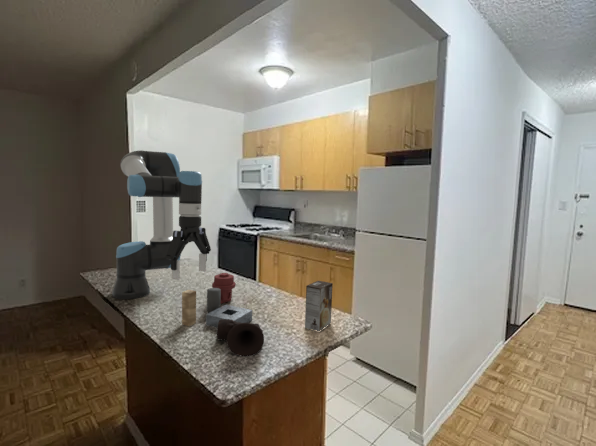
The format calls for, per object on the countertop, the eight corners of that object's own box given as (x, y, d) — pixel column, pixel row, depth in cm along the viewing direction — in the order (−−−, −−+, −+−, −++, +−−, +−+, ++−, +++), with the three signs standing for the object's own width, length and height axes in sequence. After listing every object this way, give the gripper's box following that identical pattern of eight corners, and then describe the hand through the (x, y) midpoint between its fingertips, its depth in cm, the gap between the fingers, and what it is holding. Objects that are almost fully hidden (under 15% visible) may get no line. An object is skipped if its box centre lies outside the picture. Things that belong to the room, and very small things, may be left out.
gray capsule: (204, 312, 133) (204, 290, 132) (212, 308, 138) (212, 287, 137) (214, 315, 131) (215, 292, 130) (222, 310, 135) (223, 289, 135)
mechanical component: (238, 299, 151) (229, 306, 141) (217, 296, 153) (207, 303, 143) (239, 272, 149) (230, 277, 140) (218, 270, 151) (208, 275, 142)
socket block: (205, 325, 121) (206, 314, 120) (225, 314, 132) (226, 304, 131) (233, 332, 116) (233, 320, 116) (252, 320, 127) (252, 310, 127)
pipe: (220, 312, 114) (214, 321, 99) (265, 314, 116) (265, 324, 101) (218, 341, 113) (211, 355, 98) (262, 343, 115) (262, 357, 100)
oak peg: (181, 324, 121) (182, 292, 119) (188, 321, 124) (188, 289, 122) (189, 326, 119) (189, 293, 118) (195, 323, 122) (196, 291, 121)
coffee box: (316, 320, 129) (318, 279, 128) (331, 324, 126) (333, 282, 124) (304, 328, 121) (305, 285, 120) (319, 333, 118) (321, 288, 116)
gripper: (171, 218, 105) (171, 284, 107) (220, 214, 127) (219, 269, 129) (153, 216, 108) (154, 281, 110) (205, 213, 130) (204, 266, 132)
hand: (189, 274), depth 120 cm, fingers open, 13 cm apart
